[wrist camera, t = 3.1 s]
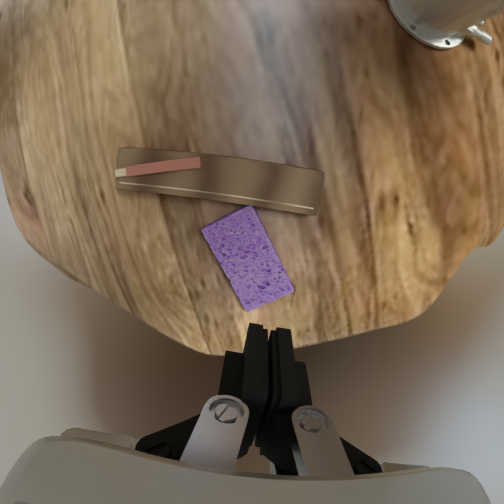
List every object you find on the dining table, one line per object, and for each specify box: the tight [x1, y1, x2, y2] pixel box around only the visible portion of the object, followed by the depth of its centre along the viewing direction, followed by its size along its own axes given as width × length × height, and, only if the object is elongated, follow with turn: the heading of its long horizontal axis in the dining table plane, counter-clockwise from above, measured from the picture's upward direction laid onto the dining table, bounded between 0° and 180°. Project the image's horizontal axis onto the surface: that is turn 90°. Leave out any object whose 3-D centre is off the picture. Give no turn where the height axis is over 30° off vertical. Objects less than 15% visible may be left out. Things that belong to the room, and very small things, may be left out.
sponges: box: [201, 205, 294, 312], centre depth 38 cm, size 7×13×2 cm, turn 26°
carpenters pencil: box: [115, 157, 202, 177], centre depth 33 cm, size 10×1×1 cm, turn 94°
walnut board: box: [116, 147, 324, 216], centre depth 34 cm, size 24×5×3 cm, turn 82°
